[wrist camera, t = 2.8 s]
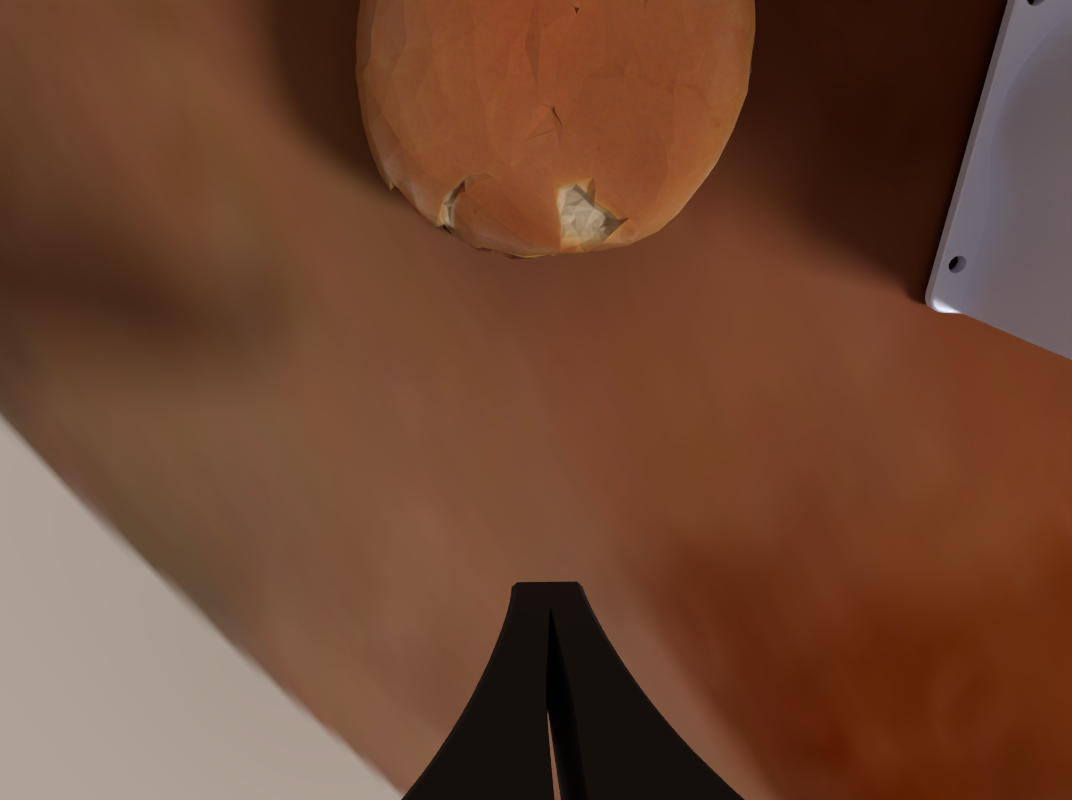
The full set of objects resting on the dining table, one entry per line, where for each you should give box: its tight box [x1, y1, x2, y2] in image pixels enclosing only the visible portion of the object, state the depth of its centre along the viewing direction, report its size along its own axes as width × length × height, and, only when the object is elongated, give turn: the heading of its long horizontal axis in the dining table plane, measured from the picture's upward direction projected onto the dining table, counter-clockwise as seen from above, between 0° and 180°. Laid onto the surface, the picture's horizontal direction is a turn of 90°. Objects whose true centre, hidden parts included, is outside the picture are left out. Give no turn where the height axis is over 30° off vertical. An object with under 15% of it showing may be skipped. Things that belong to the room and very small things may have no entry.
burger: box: [355, 0, 757, 259], centre depth 16 cm, size 10×9×5 cm
